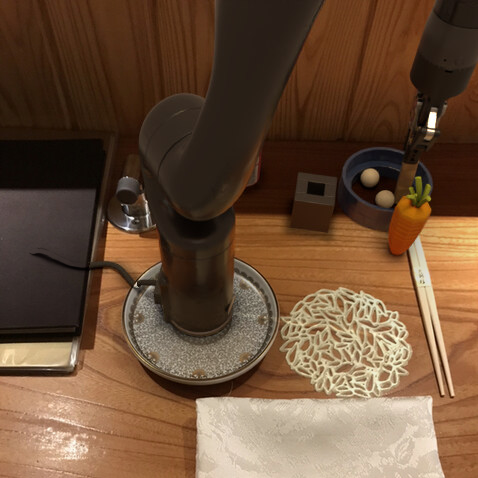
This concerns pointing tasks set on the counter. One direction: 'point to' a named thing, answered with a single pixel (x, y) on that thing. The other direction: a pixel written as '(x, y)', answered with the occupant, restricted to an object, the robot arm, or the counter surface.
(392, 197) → the bead
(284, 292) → the counter surface
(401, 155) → the bowl
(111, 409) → the counter surface
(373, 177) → the bead
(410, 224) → the carrot
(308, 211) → the stick holder
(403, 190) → the stick
